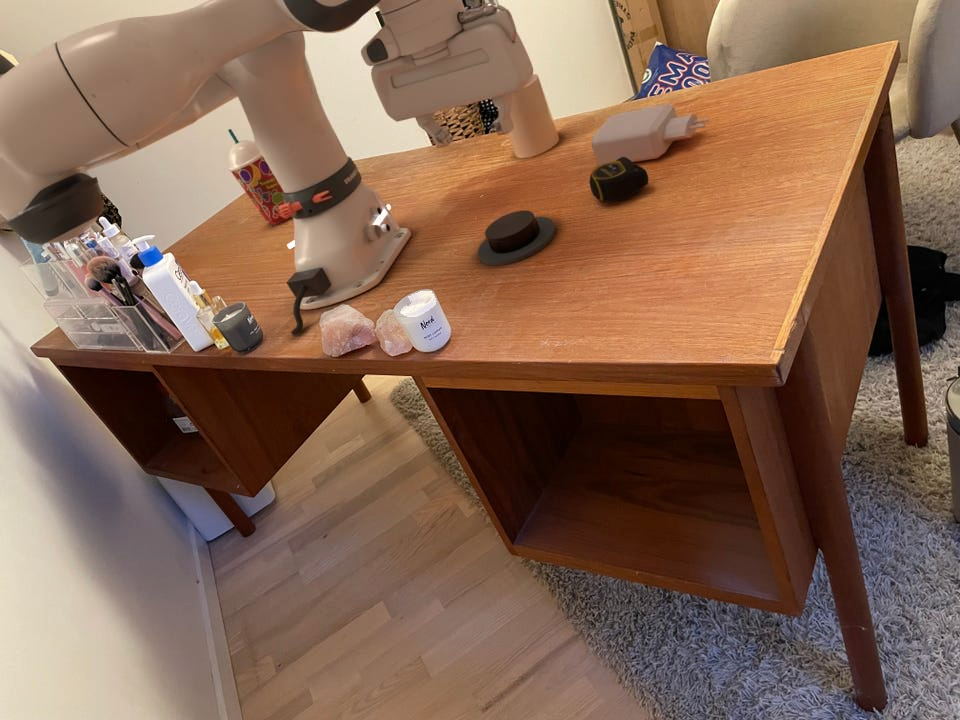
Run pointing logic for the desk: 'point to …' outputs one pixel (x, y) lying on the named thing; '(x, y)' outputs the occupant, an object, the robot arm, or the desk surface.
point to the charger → (642, 133)
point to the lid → (512, 231)
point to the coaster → (540, 242)
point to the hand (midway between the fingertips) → (474, 138)
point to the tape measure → (617, 180)
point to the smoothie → (256, 179)
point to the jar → (531, 121)
